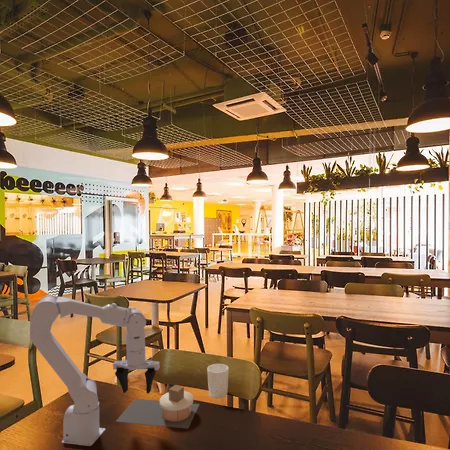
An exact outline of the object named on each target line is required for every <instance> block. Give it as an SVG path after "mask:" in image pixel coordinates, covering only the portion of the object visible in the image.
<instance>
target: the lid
mask: <svg viewBox="0 0 450 450" xmlns="http://www.w3.org/2000/svg"><path fill="white" fill-rule="evenodd" d="M159 401H160V406H161V408H163V409H165V410H168V411H180V410H184V409H186V408H188V407H190V406H191V405H192V403H193V404H194V395H193V394H192V393H191V392H189V391H186V390H185V387H184V386H182V385H178V384H173V386H171V387H170V388H168V392H166V393H164V394H163V395H161V396H160V398H159Z"/></svg>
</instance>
